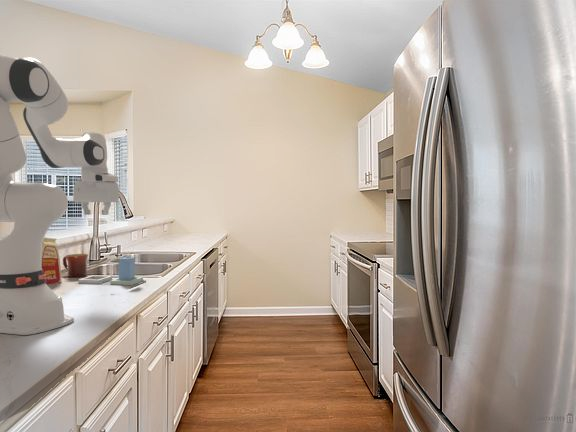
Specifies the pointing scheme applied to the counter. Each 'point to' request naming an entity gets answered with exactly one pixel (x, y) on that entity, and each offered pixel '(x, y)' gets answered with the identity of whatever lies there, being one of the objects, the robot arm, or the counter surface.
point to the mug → (76, 265)
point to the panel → (109, 281)
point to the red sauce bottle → (51, 261)
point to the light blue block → (127, 268)
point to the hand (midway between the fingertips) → (96, 214)
